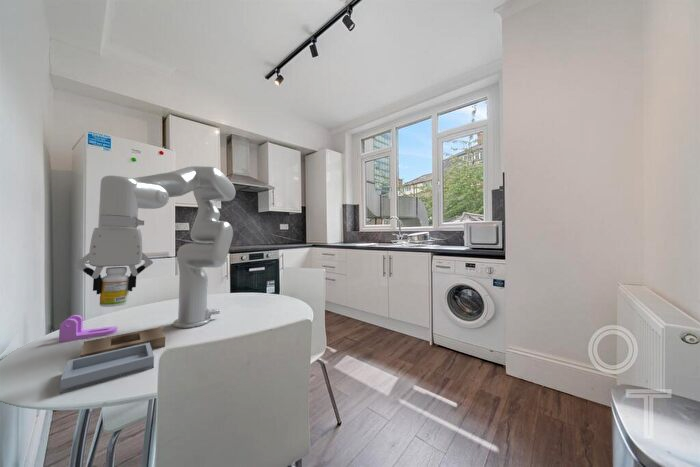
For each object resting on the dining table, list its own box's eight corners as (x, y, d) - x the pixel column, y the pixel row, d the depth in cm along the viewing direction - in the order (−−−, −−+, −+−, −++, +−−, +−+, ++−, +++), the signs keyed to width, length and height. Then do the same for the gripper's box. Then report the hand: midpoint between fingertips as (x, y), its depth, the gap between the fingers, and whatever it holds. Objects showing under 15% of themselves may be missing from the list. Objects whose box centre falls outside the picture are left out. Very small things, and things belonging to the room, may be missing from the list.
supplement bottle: (106, 302, 66) (109, 266, 66) (131, 301, 68) (133, 266, 68) (94, 308, 61) (97, 268, 61) (122, 306, 63) (124, 268, 63)
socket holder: (160, 335, 85) (160, 326, 85) (165, 346, 77) (165, 336, 77) (83, 351, 72) (84, 341, 72) (79, 366, 64) (80, 355, 64)
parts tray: (149, 352, 72) (149, 342, 73) (153, 367, 65) (153, 356, 65) (67, 372, 61) (67, 360, 61) (60, 393, 53) (60, 379, 54)
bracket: (58, 342, 78) (59, 320, 78) (66, 336, 83) (67, 315, 83) (114, 334, 85) (115, 314, 85) (118, 329, 90) (119, 310, 90)
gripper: (157, 225, 74) (155, 286, 73) (72, 221, 62) (68, 293, 61) (160, 225, 68) (157, 290, 68) (67, 220, 57) (62, 299, 56)
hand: (115, 291), depth 65 cm, fingers closed on supplement bottle, 5 cm apart
